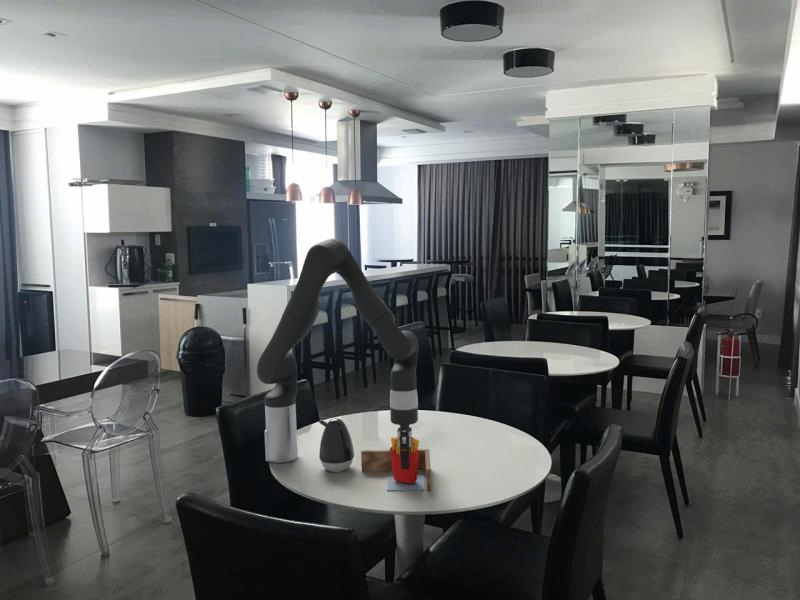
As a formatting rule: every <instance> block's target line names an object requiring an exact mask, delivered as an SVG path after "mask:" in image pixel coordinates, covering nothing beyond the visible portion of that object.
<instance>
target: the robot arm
mask: <svg viewBox="0 0 800 600" xmlns="http://www.w3.org/2000/svg"><path fill="white" fill-rule="evenodd" d="M303 261H304V262H303V265H302V268H301V272H300V274H299V278H298V280H297V282H296V285H295V287H294V289H293V291H292V294H291V295H290V298H289V300H288V302H287V304H286V306H285V308H284V311H283V313H282V314H281V318H280V320H279V323H278V325H277V327H276V328H275V330H274V333H273V335H272V336H271V337H270V340H269V342H268V344H267V345H266V347H265V349H264V350H263V352H262V353H261V354H260V356H259V359H258V362H257V366H256V375H257V377H258V379H259V381H260V382H261V383H263V384H265V385H274V384H275V385H274V387H273V388H272V389H271V390H270V391H269V392H267V393H266V395H265V396H264V409H265V413H264V414H265V415H264V416H265V430H264V450H265V453H264V454H265V462H271V463H276V464H278V463H280V464H281V463H289V462H292V461H294V460H297V459H298V456H299V455H298V452H299V451H298V450H299V449H298V436H297V435H298V434H297V433H298V432H297V431H298V430H297V413H296V411H297V408H296V397H297V394H298V365H297V364H298V363H297V360H296V357H295V355H294V354H293V353H292V352H291V350H292V349H293V348H295V346H297V345H298V344H299V343H300V342H301V341H302V340H304V338H305V337H306V336H307V335H308V334H309V333H310V331H311V330H312V328H313V327H314V324H315V322H316V320H317V317H318V315H319V312H320V301H319V298H320V293H321V291H322V289H323V287H324V285H325V283H326V281H327V280H328V279H329V277H330V276H332V275H333V274H335V273H337V274H338V275H339V276H340V277H341V279H342V280H344V283H346V284H347V286H348V288H349V290H350V293H351V296H352V298H353V302H354V304H355V307H356V310H357V311H358V313H359V314H360V316H361V317H362V318H363V319H364V321H365V322H366V323H367V324H368V325H369V327H370V328H371V329H372V331H374V333H375V335H376V337H377V339H378V341H379V342H380V345H381V347H382V348H383V349H384V351H385V352H386V353H387V354H388V355H389V356H390V357H391V359H393V366H392V368H391V370H390V392H389V393H390V394H389V409H390V412H389V413H390V414H389V415H390V423H392V424H394V425H398V427H397V431H396V435H397V436H398V446H399V447H400V456H401V469H403V470H404V469H409V455H410V453H409V447H411V437H413V436H412V435H413V429H412V428H413V427H412V426H410V425H414V424H416V423H418V421H419V401H418V400H419V399H418V397H419V396H418V391H417V389H418V388H417V366H418V360H419V359H418V358H419V349H420V348H419V341H418V338H417V336H416V334H415V333H414V332H412V331H410V330H401V329H400V328H399V327H400V326H398V324H397V323H396V320H397V319H396V316H395V314H394V313H393V311H391V309H390V308H389V307H388V305H387V304H386V303H385V302H384V301H383V299H382V298H381V297H380V296H379V295H378V293H377V292H376V291H375V290H374V287H372V285H371V283H370V282H369V281H368V279H367V277H366V276H365V274H364V272H363V271H362V269H361V267H360V265H359V264H358V262H357V261H356V259H355V257H354V256H353V254H352V253H351V251H350V249H349V248H348V246H347V245H346V244H345V243H344V242H343V241H342V240H340V239H339V238H329V239H325V240H323V241H319V242H317V243H315V244H313V245H311V247H310V248H309V249H308V251H307V253H306V256H305V258H304V260H303ZM402 449H407V451H404V452H402Z"/></svg>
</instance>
